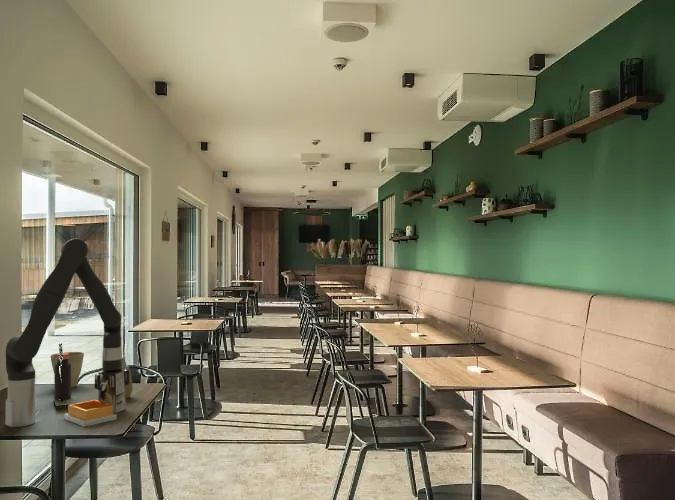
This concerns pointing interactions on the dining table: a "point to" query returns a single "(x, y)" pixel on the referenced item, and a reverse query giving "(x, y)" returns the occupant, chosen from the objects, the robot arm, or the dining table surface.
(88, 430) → the dining table surface
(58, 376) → the vinegar
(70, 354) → the plant pot
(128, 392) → the squeeze bottle
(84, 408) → the orange open box
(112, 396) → the coffee box
